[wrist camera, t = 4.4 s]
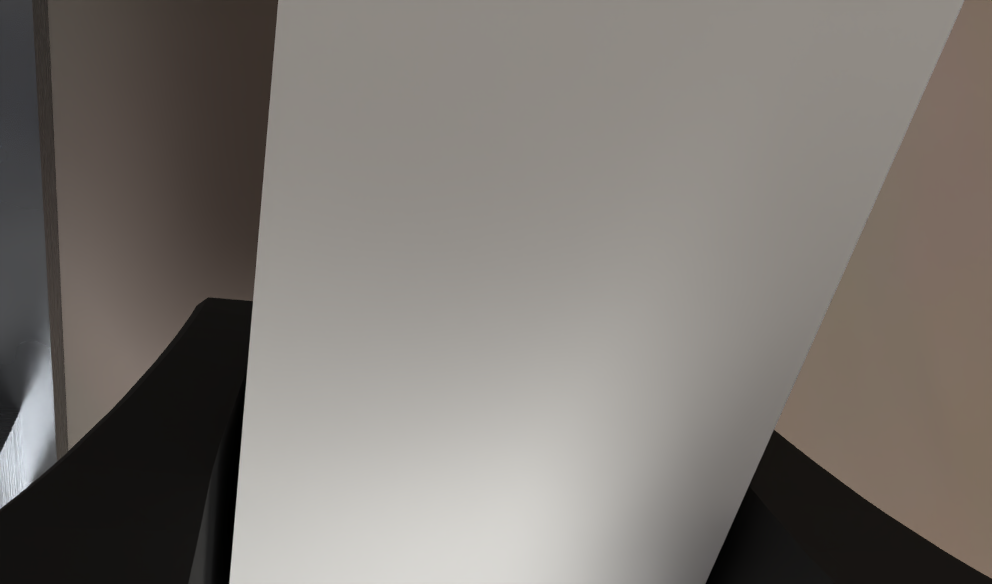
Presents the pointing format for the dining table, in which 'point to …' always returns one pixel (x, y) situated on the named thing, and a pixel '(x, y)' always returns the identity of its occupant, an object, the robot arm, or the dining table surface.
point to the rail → (549, 274)
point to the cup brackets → (28, 255)
